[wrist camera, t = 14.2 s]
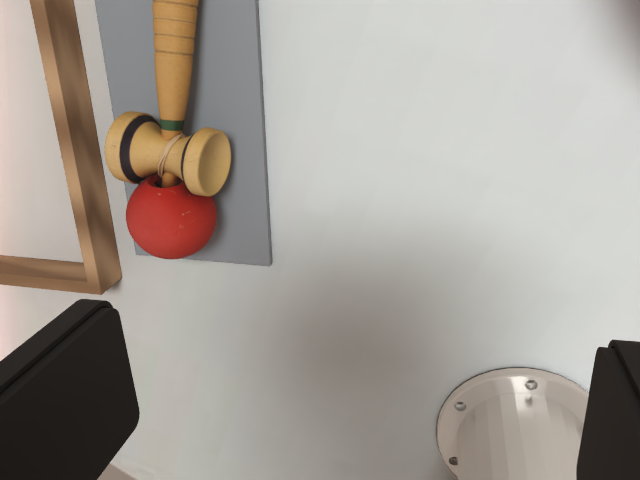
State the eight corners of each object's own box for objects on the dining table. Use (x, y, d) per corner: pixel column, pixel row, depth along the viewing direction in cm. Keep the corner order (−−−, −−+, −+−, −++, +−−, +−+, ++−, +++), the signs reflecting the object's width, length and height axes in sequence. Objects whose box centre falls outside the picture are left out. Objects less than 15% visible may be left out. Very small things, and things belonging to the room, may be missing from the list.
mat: (272, 262, 42) (269, 266, 42) (139, 251, 44) (136, 254, 44) (256, -31, 34) (253, -31, 34) (95, -27, 36) (90, -27, 36)
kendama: (128, -22, 37) (129, 238, 42) (88, -41, 31) (94, 266, 36) (245, -10, 37) (231, 248, 42) (228, -27, 31) (214, 278, 36)
